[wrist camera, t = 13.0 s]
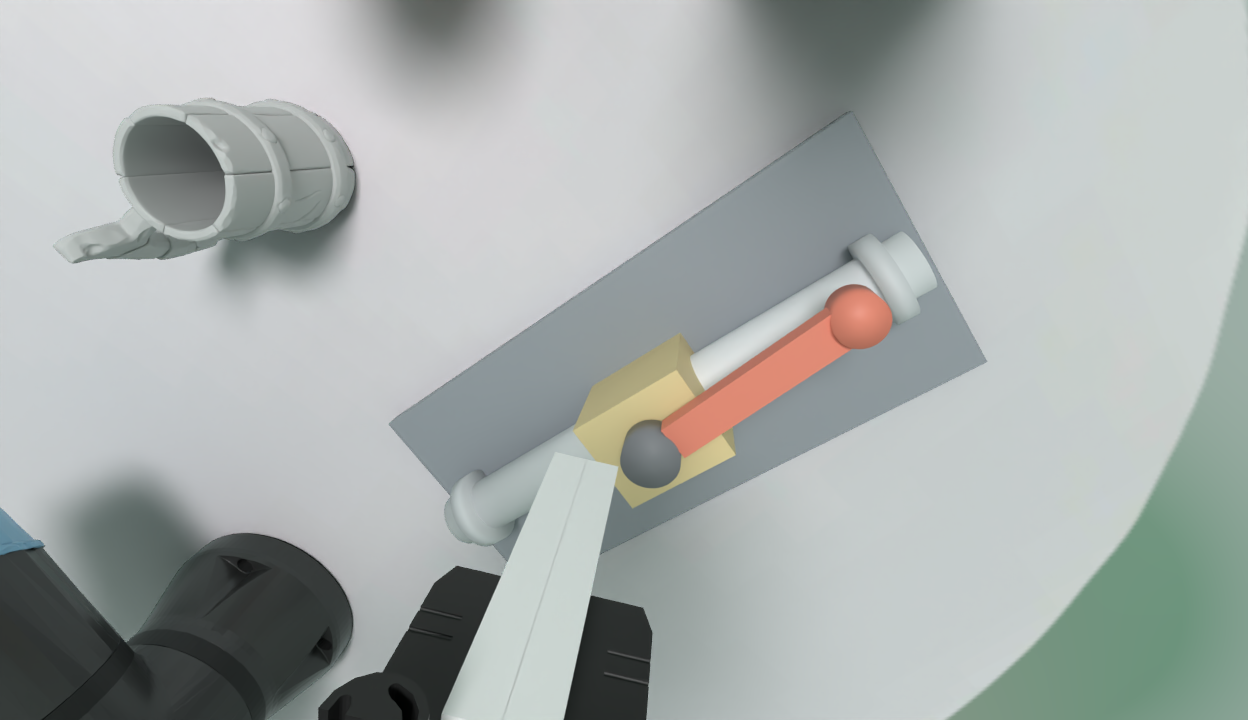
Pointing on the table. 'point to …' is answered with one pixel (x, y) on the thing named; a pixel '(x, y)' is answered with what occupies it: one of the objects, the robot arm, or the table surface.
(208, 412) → the table surface
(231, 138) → the mug
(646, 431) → the lever
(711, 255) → the grey base plate
